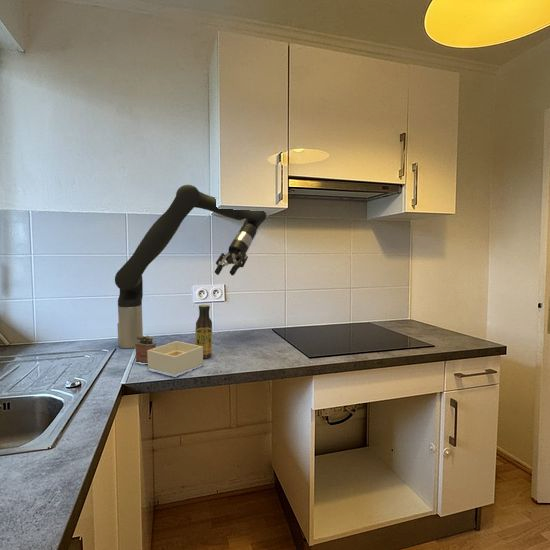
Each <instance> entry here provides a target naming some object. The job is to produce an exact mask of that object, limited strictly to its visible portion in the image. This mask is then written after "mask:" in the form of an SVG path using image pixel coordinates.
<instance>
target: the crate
mask: <svg viewBox="0 0 550 550" xmlns="http://www.w3.org/2000/svg"><path fill="white" fill-rule="evenodd" d="M147 358H148V365H147V369H148V368H151V369H154V370H158V371H162V372H167V373H171V374H174V375H176V374H178V373H181V372H184V371H187V370H189V369H192V368H195V367H198V366H200V365H203V366H204V359H203V346H198V345H195V344H193V343H189V342H188V343H187V342H183V341H178V340H175V341H173V342H170V343H167V344H166V343H165V344H162V345H160V346H156V348H153V349H150V350H147Z"/></svg>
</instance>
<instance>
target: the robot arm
mask: <svg viewBox="0 0 550 550" xmlns="http://www.w3.org/2000/svg"><path fill="white" fill-rule="evenodd" d="M215 198H216V197H214V196H212V195H208V194H205V193H204V192H201V191H199V189H198V188H197V187H196V186H195V185H192V184H184V185H182V186H180V187H178V189H177V190H176V193H175V197H174V198H173V200H172V202H171V204H170V205H169V207H168V208H167V210H166V211H165V212H164V213H163V214H161V216H159V218H157V220H156V221H154V223H153V224H152V225H151V226H150V228H149V229H148V231H147V232H146V233H145V234H144V236H143V238H142V240H140V242H139V244H138V246H137V247H136V249H135V250H134V252H133V254H132V255H131V256H130V258H129V259H128V260H127V261H126V262H125V263H124V264H123V265H122V266H121V268H120V269H118V271H117V272H116V273H115V277H114V283H115V285H116V287H117V288H118V289H119V294H118V295H119V296H118V299H117V315H118V323H117V325H116V326H117V344H118V346H119V348H121V349H136V345H135V342H138V341H140V340H137V336H144V334H143V333H144V332H143V331H144V328H143V305H142V303H143V293H144V291H143V289H144V286H143V274H144V272H145V271H146V269H147V268H148V267H149V265H150V264H151V263H152V262H153V261H154V260H155V259H156V258H157V257H159V255H160V254H161V253H162V252H163V250H164V249H165V248H166V247H167V246H168V245H169V243H170V242H171V240H172V239H173V238H174V236H175V234H176V232H177V231H178V230H179V228H180V226H181V225H182V223H183V221H184V220H185V218H186V217H187V216H188V215H189V214H190V213H191V211H192V210H193V209H195V208H196V209H197V208H198V209H201V210H202V209H203V210H206V211H210V212H212V213H216V214H218V215H220V216H224V217H225V218H228V219H229V218H230V219H231V220H235V221H236V220H237V221H242V220H244V223H243V224H242V225H241V228H240V229H239V231H238V232H237V234H236V235H235V237H234V238H233V240H232V242H231V243H230V245H229V247H228V252H227V253H226V254H224V252H222V253H221V254H220V256H219V257H218V259H217V260H216V262H215V265H216V269H214V273H215V274H216V275H217V276H220V273H221V272H222V270H223V268H225V267H228V266H229V265H232V267H231V269H230V270H229V274H230V275H231V276H235V275H236V273H237V271H238V270H239V269H241V268H244V267H245V264H246V263H247V261H248V257H249V256H248V254H247V252H248V250H249V249H250V247H251V244H252V242H253V240H254V239H255V236H256V235H257V231H258V229H259V227H260V226H261V224H263V223H264V221H265V220H266V219H267V212H266V211H265V210H264V211H265V212H264V211H250V210H233V209H218V208H217V207H216V199H215Z"/></svg>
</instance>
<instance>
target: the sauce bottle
mask: <svg viewBox="0 0 550 550" xmlns="http://www.w3.org/2000/svg"><path fill="white" fill-rule="evenodd" d="M210 308H211V307H210V304H200V305H198V318H197V319H196V322H195V331H194V332H195V335H194V337H195V338H194V339H195V340H194V345H198V346H203V358H204V359H207V358H208V357H209V358H211V356H212V352H213V351H212V350H213V349H212V346H213V345H212V344H213V321H212V320H211V318H210ZM209 358H208V359H209Z"/></svg>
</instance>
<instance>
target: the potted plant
mask: <svg viewBox="0 0 550 550" xmlns="http://www.w3.org/2000/svg"><path fill="white" fill-rule="evenodd" d="M153 338H154V337H153V336H150V335H145V336H144V335H143V336H137V340H140V341H138V342H135V345H136V348H135V363H136V362H141V363H148V358H147V350H150V349H153V348H156V347H157V342H153Z"/></svg>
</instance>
